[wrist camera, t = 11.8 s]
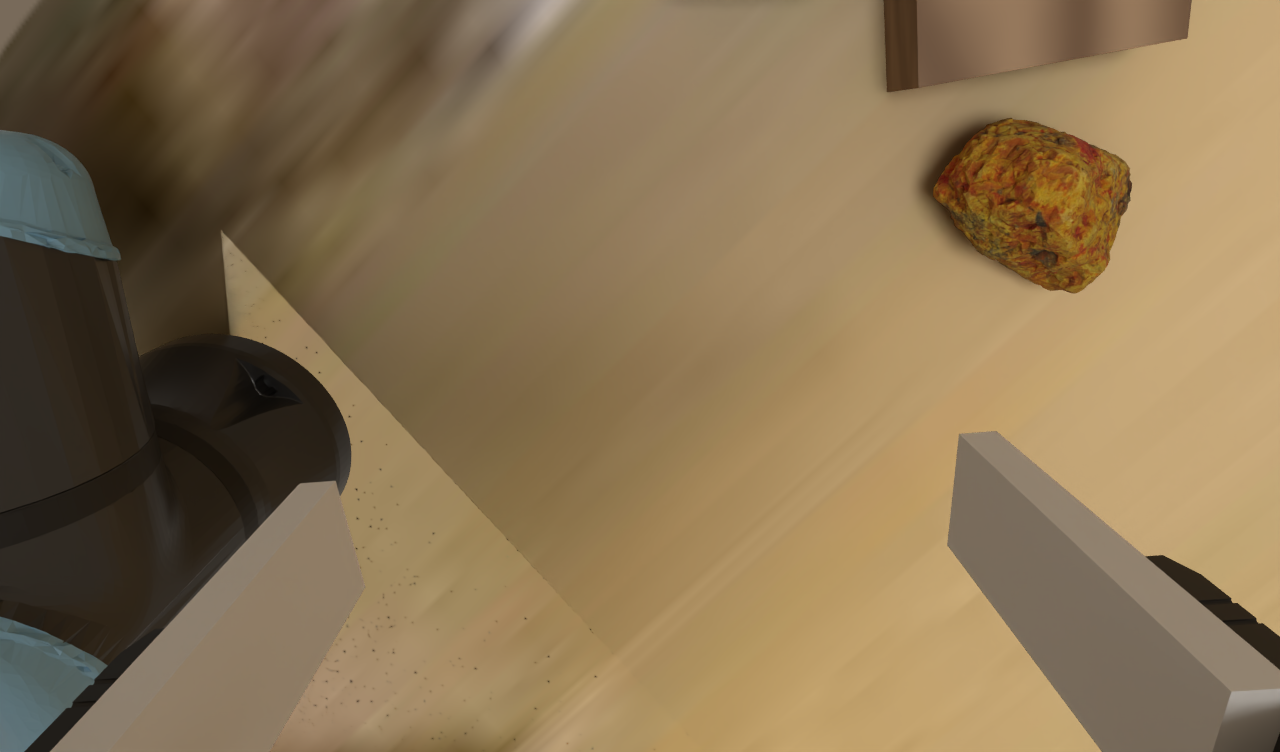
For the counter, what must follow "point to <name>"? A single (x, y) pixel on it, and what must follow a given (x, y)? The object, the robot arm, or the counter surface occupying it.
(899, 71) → the walnut block
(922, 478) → the counter surface
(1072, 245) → the rock
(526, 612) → the counter surface
